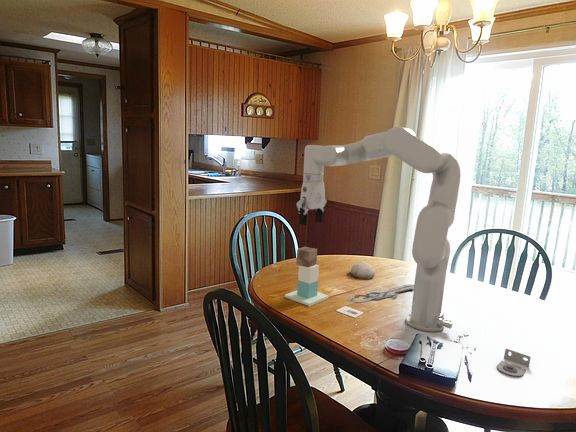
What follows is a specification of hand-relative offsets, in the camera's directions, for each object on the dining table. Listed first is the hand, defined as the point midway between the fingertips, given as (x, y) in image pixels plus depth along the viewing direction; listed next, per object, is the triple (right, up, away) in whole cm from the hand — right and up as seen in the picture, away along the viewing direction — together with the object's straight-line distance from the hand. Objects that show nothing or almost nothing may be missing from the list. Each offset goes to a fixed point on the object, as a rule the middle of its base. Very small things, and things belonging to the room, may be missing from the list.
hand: (311, 223), depth 162 cm
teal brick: (-2, -28, 0) cm, 28 cm away
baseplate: (-2, -29, +1) cm, 29 cm away
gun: (+32, -30, +9) cm, 44 cm away
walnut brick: (-2, -16, -1) cm, 16 cm away
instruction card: (+13, -32, -11) cm, 36 cm away
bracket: (+54, -40, -43) cm, 80 cm away
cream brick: (-1, -22, -1) cm, 22 cm away
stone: (+25, -25, +33) cm, 48 cm away
